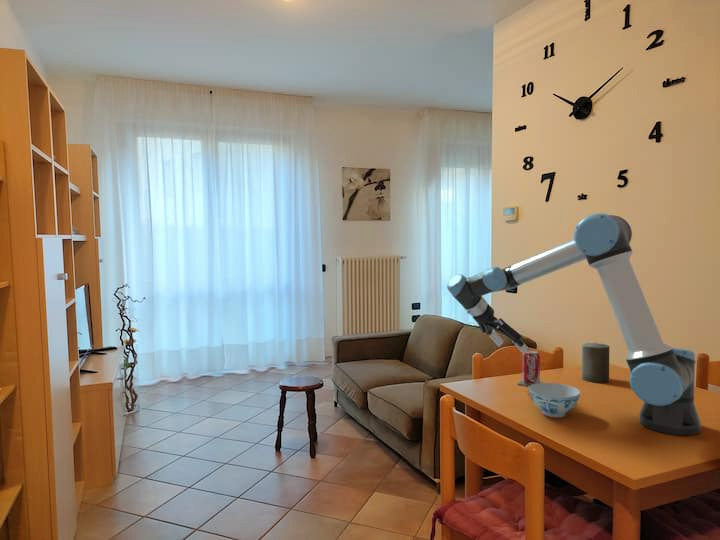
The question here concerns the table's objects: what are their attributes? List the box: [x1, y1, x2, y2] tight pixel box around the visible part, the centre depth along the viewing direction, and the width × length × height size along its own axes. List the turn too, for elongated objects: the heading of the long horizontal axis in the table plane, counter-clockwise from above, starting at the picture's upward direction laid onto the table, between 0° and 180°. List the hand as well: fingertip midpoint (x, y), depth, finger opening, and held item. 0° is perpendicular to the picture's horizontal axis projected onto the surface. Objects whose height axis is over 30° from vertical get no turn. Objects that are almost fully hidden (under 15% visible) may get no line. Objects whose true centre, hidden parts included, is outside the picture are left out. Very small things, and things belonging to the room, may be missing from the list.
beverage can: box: [521, 349, 541, 384], centre depth 183 cm, size 6×6×12 cm
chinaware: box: [528, 382, 581, 418], centre depth 152 cm, size 15×15×8 cm
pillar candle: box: [581, 342, 610, 384], centre depth 189 cm, size 10×10×15 cm
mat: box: [517, 380, 544, 387], centre depth 183 cm, size 7×8×1 cm
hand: (513, 347), depth 180 cm, fingers open, 13 cm apart
